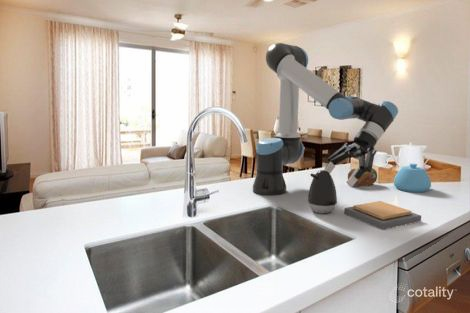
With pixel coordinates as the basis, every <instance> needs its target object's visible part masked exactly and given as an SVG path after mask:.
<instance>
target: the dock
mask: <svg viewBox="0 0 470 313" xmlns="http://www.w3.org/2000/svg"><path fill="white" fill-rule="evenodd" d="M343 214H345V215H347V216H349V217H351V218H354V219H357V220H359V221H361V222H364V223H366V224H368V223H369V224H368V225H371V226H373V225H374V226H373V227H375V226H376V227H375V228H378V229H380V228H381V229H380V230H382V229H384V230H388V229H393V228H396V226H398V227H401V225H402V226H405V224H407V225H410V223H411V224H416V223H420V222H422V215H421V214H418V213H415V212H412V211H411V214H409V215H404V216H399V217H394V218H389V219H384V220H382V219H380V218H377V217H374V216H372V215H369V214H367V213H364V212H362V211H359V210H356V209H354V208H353V206H347V207H344V208H343ZM419 221H420V222H419ZM415 222H416V223H415ZM392 227H393V228H392ZM387 228H388V229H387Z"/></svg>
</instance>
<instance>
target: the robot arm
mask: <svg viewBox="0 0 470 313" xmlns="http://www.w3.org/2000/svg"><path fill="white" fill-rule="evenodd" d="M265 62H266V65H267V67H268V68H269V69H270V70H272V71H273V72H274V73H276V76H277V78H278V79H279V81H280V83H279V84H280V85H279V109H278V110H279V111H278V112H279V113H278V117H279V118H278V132H277V133H276V134H275V135H274V136H275V137H269V138H263V139H260V140H259V141H258V142H257V143H256V149H255V150H256V151H255V153H256V175H255V178H254V181H253V183H252V192H253V193H256V194H257V195H266V196H276V195H277V196H278V195H283V194H285V193H286V192H287V184H286V181H285V178H284V175H283V172H284V171H283V169H284V168H283V167H284V166H286V165H291V164H295V163H297V162H298V161H300V160H301V159H302V158H303V156H304V153H305V146H304V144H303V143H302V141H301V135H300V133H299V132H298V122H299V121H298V118H299V116H298V115H299V96H300V94H299V92H300V90H302V91H303V92H304V93H306V94H307V95H308V96H309V97H310V98H312V99H313V100H315V101H316V102H317V103H319V104H320V105H321V106H323V107H324V108H325V109H327V110H328V113H329V116H331V117H332V118H333V119H336V120H340V121H341V120H342V121H343V120H348V119H351V120H352V119H357V120H360V121H363V122H365V123H364V125H362V126H361V128H360V130H359V131H358V132H357V134H356V135H355V136H354V138H353V143H352V144H349V143H348V142H345V143H344V144H343V145H342V146H341V147H340V148H339V149H337V150H336V151H334V152H333V153H332V154H331V155H330V156H328V157H327V158H326V160H327V161H328V163H327V164H326V166H325V167H324V169H323V170H325V171H327V172H329V173H330V174H332V171H333V170H334V169H335V168H336V165H338V164H340V163H342V162H343V161H345V160H347V159H350V158H357V159H358V165H359V166H357V167H356V168H355V169H356V170H355V171H354V172H353V174H352V175H351V176H350V178H349V179H348V178H347V180H346V183H347V185H348V186H349V187H350V188H352V187H354V186H353V185H354V184H355V183H356V181H357V180H358V179H360V177H361V176H362V175H363V173H365V172H367V171H368V172H371V170H372V168H373V166H374V160H375V155H376V153H377V149H376V148H375V146H376V144H377V143H378V142H379V141H380V139H381V138H382V137H383V135H384V134H385V132H386V131H387V129H389V127H390V126H391V124H393V122H394V120H395V119H396V117H397V116H398V114H399V108H398V107H397V105H395V104H394V103H393V102H391V101H390V100H389V101H387V100H386V101H385V100H383V101H380V103H378V104H377V103H372V102H370V101H367V100H365V99H362V98H360V97H358V96H353V95H348V96H346V95H344V94H343V93H341V92H340V91H338V90H337V89H336V88H335V87H333V86H332V85H331V84H329V83H327V82H326V81H325V80H323V78H321V77H319V76H318V75H317V74H315V73H314V72H312V71H311V70H310V69H308V68H307V67H308V64H309V56H308V53H307V51H305V49H304V48H302V47H301V46H297V45H292V44H286V43H284V42H277V43H274V44H272V45H271V46H269V47H268V49H267V52H266V53H265ZM359 168H360V169H359Z"/></svg>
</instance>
